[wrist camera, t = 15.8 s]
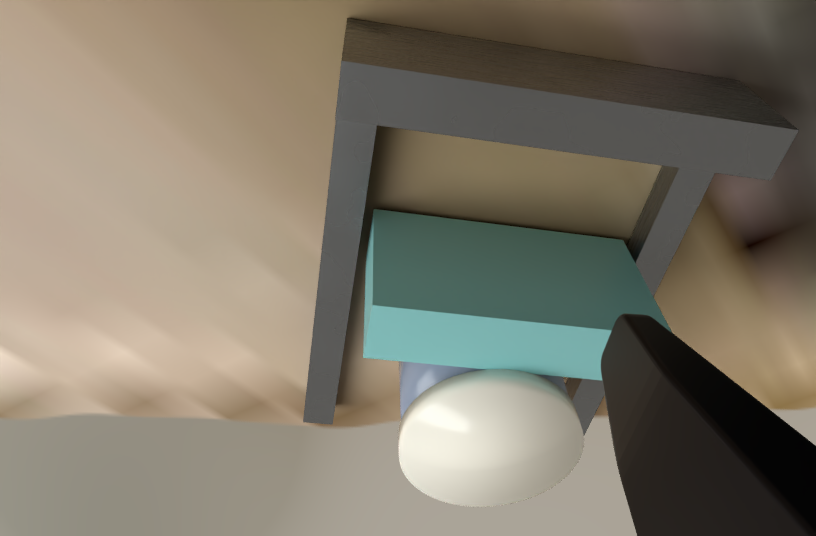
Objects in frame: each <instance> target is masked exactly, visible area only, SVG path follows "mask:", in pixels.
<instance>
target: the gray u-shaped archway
mask: <svg viewBox="0 0 816 536" xmlns="http://www.w3.org/2000/svg"><path fill="white" fill-rule="evenodd" d="M335 119H336V125H335V134H334V143H333V152H332V162H331V171H330V180H329V189H328V198H327V208H326V217H325V226H324V235H323V244H322V254H321V263H320V272H319V281H318V290H317V300H316V309H315V318H314V327H313V337H312V346H311V355H310V364H309V373H308V383H307V392H306V401H305V410H304V419H303V422H309V423H321V424H333V417H334V411H335V404H336V397H337V391H338V384H339V377H340V370H341V364H342V357H343V350H344V344H345V337H346V330H347V323H348V317H349V310H350V303H351V296H352V290H353V283H354V276H355V270H356V263H357V256H358V249H359V243H360V236H361V229H362V223H363V216H364V209H365V202H366V196H367V189H368V182H369V176H370V169H371V162H372V155H373V149H374V142H375V135H376V128H377V125H379V126H386V127H393V128H400V129H407V130H414V131H421V132H428V133H436V134H443V135H450V136H457V137H464V138H471V139H478V140H485V141H492V142H500V143H507V144H514V145H521V146H528V147H535V148H542V149H549V150H556V151H564V152H571V153H578V154H585V155H592V156H599V157H606V158H613V159H620V160H628V161H635V162H642V163H649V164H656V165H663V166H662V168H661V170H660V172H659V175H658V177H657V179H656V182H655V184H654V186H653V188H652V191H651V193H650V195H649V197H648V200H647V202H646V204H645V206H644V209H643V211H642V213H641V215H640V218H639V220H638V222H637V225H636V227H635V229H634V231H633V234H632V236H631V238H630V240H629V243H628V245H627V249H628V250H629V252H630V254H631V256H632V258H633V260H634V262H635V264H636V266H637V267H638V269H639V271H640V273H641V275H642V277H643V279H644V281H645V283H646V284H647V286H648V288H649V290H650V292H651V294H652V296H654V294H655V292H656V290H657V288H658V286H659V284H660V282H661V280H662V278H663V276H664V274H665V272H666V270H667V268H668V266H669V264H670V262H671V260H672V258H673V256H674V254H675V252H676V250H677V248H678V246H679V244H680V242H681V240H682V238H683V236H684V234H685V232H686V230H687V228H688V226H689V224H690V222H691V220H692V218H693V216H694V214H695V212H696V210H697V208H698V206H699V204H700V202H701V200H702V198H703V196H704V194H705V192H706V190H707V188H708V186H709V184H710V182H711V180H712V178H713V176H714V174H715V173H720V174H727V175H734V176H741V177H748V178H756V179H763V180H770V181H771V179H772V177H773V176H774V174H775V172H776V170H777V168H778V167H779V165H780V163H781V161H782V159H783V158H784V156H785V154H786V152H787V151H788V149H789V147H790V145H791V143H792V142H793V140H794V138H795V136H796V134H797V133H798V131H799V130H798V129H797V128H796V127H794V126H793V125H792V124H791V123H790V122H788V121H787V120H786V119H785V118H784V117H782V116H781V115H780V114H779V113H778V112H776V111H775V110H774V109H773V108H772V107H770V106H769V105H768V104H767V103H765V102H764V101H763V100H762V99H761V98H759V97H758V96H757V95H756V94H755V93H753V92H752V91H751V90H750V89H749V88H747V87H746V86H745V85H744V84H743V83H741V82H740V81H737V80H731V79H725V78H719V77H712V76H706V75H700V74H694V73H687V72H681V71H675V70H669V69H663V68H656V67H650V66H644V65H638V64H631V63H625V62H619V61H613V60H606V59H600V58H594V57H588V56H582V55H575V54H569V53H563V52H557V51H550V50H544V49H538V48H532V47H525V46H519V45H513V44H507V43H501V42H494V41H488V40H482V39H476V38H469V37H463V36H457V35H451V34H444V33H438V32H432V31H426V30H420V29H413V28H407V27H401V26H395V25H388V24H382V23H376V22H370V21H364V20H357V19H351V18H347V25H346V32H345V39H344V47H343V54H342V61H341V71H340V80H339V89H338V99H337V108H336V117H335ZM565 386H566V389H567V393H568V396H569V397H570V398H571V400H572V402H573V403H574V406H575V408H576V411H577V414H578V417H579V421H580V424H581V427H582V430H583V435H585V433H586V431H587V429H588V427H589V425H590V423H591V421H592V419H593V417H594V415H595V413H596V411H597V409H598V407H599V405H600V403H601V401H602V399H603V397H604V395H605V393H604V387H603V381H602V380H592V379H581V378H571V377H569V378H568V381H567V383H566V385H565Z"/></svg>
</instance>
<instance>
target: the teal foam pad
mask: <svg viewBox="0 0 816 536" xmlns="http://www.w3.org/2000/svg"><path fill="white" fill-rule="evenodd" d="M625 313H627V314H642V315H648V316H651V317H652V318H654V319H655V320H656V321H658V322H659V323H660V324H661V325H663V326H664V327H665V328H667V329H668V330H669V331H670V332H672V331H671V330H670V328H669V326H668V324H667V322H666V320H665V318H664V316H663V315H662V313H661V311H660V309H659V307H658V305H657V303H656V301H655V299H654V298H653V296H652V294H651V292H650V290H649V288H648V286H647V284H646V283H645V281H644V279H643V277H642V275H641V273H640V271H639V269H638V267H637V266H636V264H635V262H634V260H633V258H632V256H631V254H630V252H629V250H628V249H627V247H626V245H625V243H624V241H623V240H619V239H611V238H603V237H595V236H587V235H579V234H571V233H563V232H555V231H547V230H539V229H531V228H523V227H515V226H507V225H499V224H491V223H482V222H474V221H466V220H458V219H450V218H442V217H434V216H426V215H418V214H410V213H402V212H394V211H386V210H378V209H374V210H373V217H372V223H371V229H370V236H369V242H368V248H367V255H366V277H365V313H364V348H363V358H371V359H382V360H392V361H403V362H413V363H424V364H434V365H445V366H455V367H466V368H476V369H509V370H518V371H523V372H528V373H532V374H539V375H550V376H560V377H571V378H581V379H592V380H602V375H601V357H602V353H603V351H604V348H605V346H606V343H607V341H608V338H609V336H610V334H611V331H612V329H613V326H614V324H615V321H616V320H617V318H618V317H619V316H620V315H622V314H625Z"/></svg>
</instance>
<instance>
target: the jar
mask: <svg viewBox="0 0 816 536" xmlns="http://www.w3.org/2000/svg"><path fill="white" fill-rule="evenodd" d="M399 376H400V407H401V422H400V426H399V436H398V440H399V461H400V466H401V468H402V471H403V473H404V474H405V476H406V477H407V479H408V480H409V481H410V482H411V483H412V484H413V485H414V486H415V487H416V488H418V489H419V490H420V491H422V492H423V493H425V494H426V495H428V496H430V497H433V498H435V499H437V500H441V501H443V502H446V503H451V504H455V505H462V506H472V507H490V506H500V505H506V504H512V503H515V502H519V501H523V500H526V499H529V498H532V497H534V496H536V495H539V494H541V493H543V492H545V491H547V490H548V489H550V488H552V487H553V486H555V485H556V484H558V483H559V482H561V481H562V480H563V479H564V478H565V477H566V476H567V475H568V474H569V473H570V472H571V471H572V470H573V469H574V467H575V466H576V464H577V463H578V461H579V459H580V457H581V454H582V451H583V447H584V435H583V430H582V427H581V424H580V421H579V417H578V414H577V411H576V408H575V406H574V403H573V402H572V400H571V398H570V397H569V396H568V393H567V389H566V386H565V383H564V380H563V377H560V376H550V375H539V374H532V373H528V372H523V371H518V370H509V369H476V368H466V367H455V366H445V365H434V364H424V363H413V362H403V361H399Z"/></svg>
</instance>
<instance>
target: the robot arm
mask: <svg viewBox="0 0 816 536" xmlns="http://www.w3.org/2000/svg"><path fill="white" fill-rule="evenodd" d="M601 375H602V381H603V387H604V393H605V399H606V405H607V411H608V416H609V422H610V428H611V434H612V439H613V446H614V451H615V456H616V461H617V466H618V469H619V474H620V477H621V481H622V485H623V488H624V491H625V495H626V498H627V502H628V505H629V508H630V512H631V516H632V519H633V522H634V526H635V529H636V533H637V536H816V446H815V445H814V444H813V443H811V442H810V441H809V440H808V439H806V438H805V437H804V436H802V435H801V434H800V433H799V432H797V431H796V430H795V429H794V428H792V427H791V426H790V425H788V424H787V423H786V422H785V421H783V420H782V419H781V418H780V417H778V416H777V415H776V414H775V413H773V412H772V411H771V410H769V409H768V408H767V407H766V406H764V405H763V404H762V403H761V402H759V401H758V400H757V399H755V398H754V397H753V396H752V395H750V394H749V393H748V392H747V391H745V390H744V389H743V388H741V387H740V386H739V385H738V384H736V383H735V382H734V381H733V380H731V379H730V378H729V377H728V376H726V375H725V374H724V373H722V372H721V371H720V370H719V369H717V368H716V367H715V366H714V365H712V364H711V363H710V362H708V361H707V360H706V359H705V358H703V357H702V356H701V355H700V354H698V353H697V352H696V351H694V350H693V349H692V348H691V347H689V346H688V345H687V344H686V343H684V342H683V341H682V340H680V339H679V338H678V337H677V336H675V335H674V334H673V333H672V332H670V331H669V330H668V329H667V328H665V327H664V326H663V325H661V324H660V323H659V322H658V321H656V320H655V319H654V318H652V317H651V316H648V315H642V314H627V313H625V314H622V315H620V316H619V317H618V318H617V320H616V321H615V324H614V326H613V329H612V331H611V334H610V336H609V338H608V341H607V343H606V346H605V348H604V351H603V353H602V357H601Z"/></svg>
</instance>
